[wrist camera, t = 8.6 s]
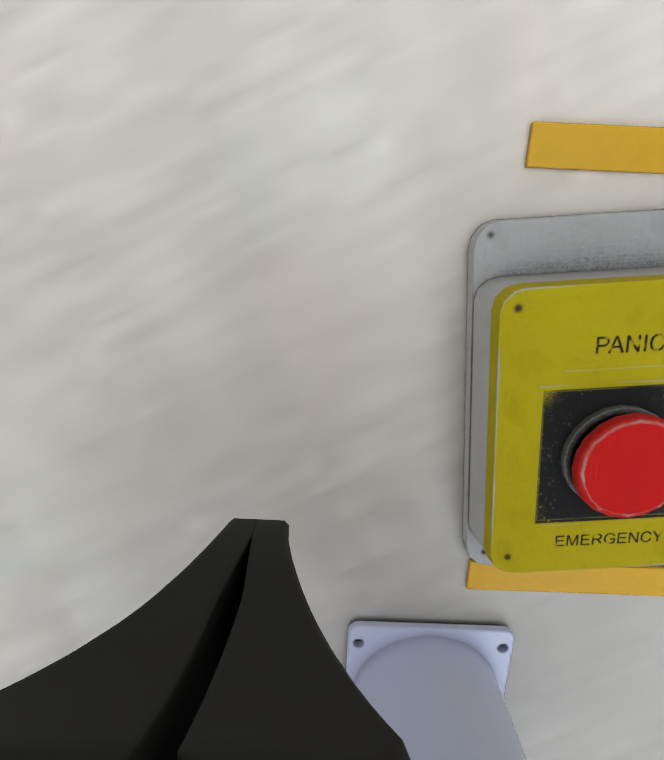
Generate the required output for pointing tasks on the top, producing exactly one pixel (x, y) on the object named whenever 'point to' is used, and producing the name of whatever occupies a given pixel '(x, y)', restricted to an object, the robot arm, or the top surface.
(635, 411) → the emergency button
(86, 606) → the top surface
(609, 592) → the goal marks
